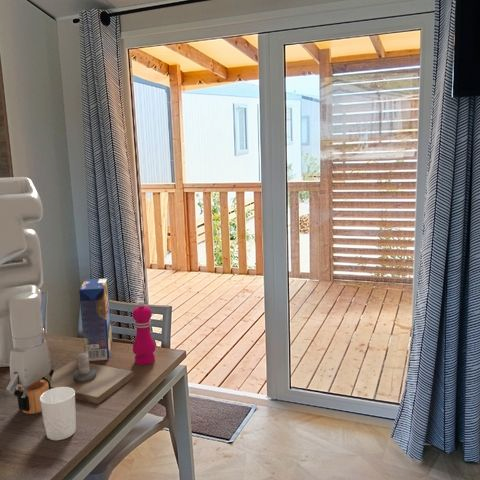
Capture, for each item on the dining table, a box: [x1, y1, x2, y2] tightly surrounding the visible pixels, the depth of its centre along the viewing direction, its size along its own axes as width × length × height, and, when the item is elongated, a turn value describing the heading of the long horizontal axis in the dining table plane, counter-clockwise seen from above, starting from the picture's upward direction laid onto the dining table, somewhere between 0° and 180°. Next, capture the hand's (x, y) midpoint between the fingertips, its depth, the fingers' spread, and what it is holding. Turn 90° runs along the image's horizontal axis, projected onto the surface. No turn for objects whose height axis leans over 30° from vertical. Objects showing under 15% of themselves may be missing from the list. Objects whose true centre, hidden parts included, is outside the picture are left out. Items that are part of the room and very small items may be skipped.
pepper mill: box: [132, 300, 157, 366], centre depth 155 cm, size 7×7×20 cm
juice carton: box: [78, 277, 113, 362], centre depth 161 cm, size 12×8×24 cm, turn 9°
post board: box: [50, 352, 134, 405], centre depth 142 cm, size 22×16×9 cm
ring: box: [21, 379, 49, 415], centre depth 130 cm, size 7×7×6 cm
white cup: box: [40, 387, 77, 441], centre depth 117 cm, size 8×8×10 cm
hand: (35, 402), depth 130 cm, fingers closed on ring, 7 cm apart
